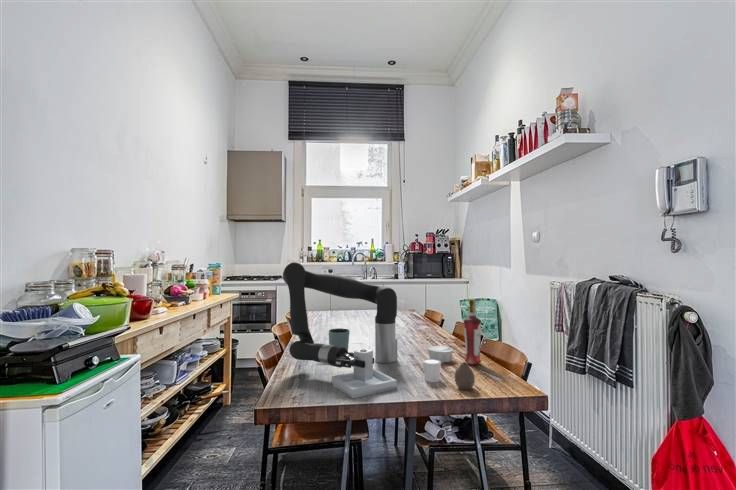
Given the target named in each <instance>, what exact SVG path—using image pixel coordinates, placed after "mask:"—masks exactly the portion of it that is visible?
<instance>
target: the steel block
mask: <svg viewBox="0 0 736 490" xmlns="http://www.w3.org/2000/svg"><path fill="white" fill-rule="evenodd" d="M353 353H354V359H356V360H360V361H365V368H361V367H353V372H354V379H355V380H359V381H363V382H366V381H368V380H370V379H372V378H373V369H374V364H373V358H374V350H373V349H366V348H359V349H356V350H353Z"/></svg>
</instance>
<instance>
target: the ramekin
mask: <svg viewBox="0 0 736 490" xmlns="http://www.w3.org/2000/svg"><path fill="white" fill-rule="evenodd" d="M427 351H428V356H429V359H435V360H439V361H441V364H445V363H444V362H447V363H449V362H451V361H452V356H453V353H454V350H453V348H452V347H450V346H445V345H432V346H428V348H427Z"/></svg>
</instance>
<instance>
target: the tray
mask: <svg viewBox="0 0 736 490" xmlns="http://www.w3.org/2000/svg"><path fill="white" fill-rule="evenodd" d="M331 385H332V386H333V387H335V388H336V389H338V390H339V391H341V392H342V393H343V394H345V395H347V397H350V399H356V398H357V399H358V398H361V397H365V396H369V395H374V394H379V393H383V392H388V391H392V390H397V389H398V379H395V378H393V377H391V376H390V375H387V374H385V373H383V372H381V371H379V370H377V369H375V368H373V378H372V379H370V380H368V381H366V382H363V381H359V380H355V379H354V371H352V372H347V373H342V374H341V373H340V374H337V375H333V376H331Z"/></svg>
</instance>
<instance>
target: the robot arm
mask: <svg viewBox="0 0 736 490" xmlns="http://www.w3.org/2000/svg"><path fill="white" fill-rule="evenodd" d="M282 280H283V281H284V283H285V284H287V288H288V292H289V293H288V294H289V318H290V327H291V328H290V329H291V334H293V335H295V336H297V337H298V339H299V340H295V341H293V342H292V343H291V344H290V346H289V350H288V351H289V355H290V356H291V358H293V359H295V360H299V361H314V362H317V363H321V364H324V365H327V366H332V367H336V368H339V369H340V368H341V369H342V368H348V369H349V368H350V369H351V368H354V367H361V368H365V361H360V360H356V359H354V351H350V352H349V350H348V351H347V349H346V348H344V347H340V346H334V345H329V344H325V343H318V342H317V343H315V342H314V339H313V336H312V333H311V331H310V328H309V320H308V313H307V312H308V311H307V306H306V304H307V303H306V295H305V293H306V291H305V289H310V290H313V291H314V290H315V291H317V292H322V293H323V294H328V295H331V296H336V297H340V298H345V299H352V300H353V299H354V300H355V299H356V300H363V301H367V302H369V303H373V304H375V305H376V314H375V317H374V335H375V337H374V338H375V339H374V340H375V341H374V347H375V349H374V351H375V352H374V355H375V356H374V357H375V358H374V357H373V365H374V364H375V362H376V363H381V364H391V363H395V362H397V361H398V338H396V334H397V333H396V319H397V313H398V297H397V293H396V291H395V290H394V289H393V288H391V287H389V286H382V285H381V286H380V285H374V284H367V283H364V282H362V281H359V280H357V279H354V278H351V277H348V276H343V275H341V274H335V273H317V272H313V271H308V270H306V269H305V267H304V265H303V264H301V263H299V262H296V261H294V262H290V263H289V264H287V265H286V266H285V267H284V269H283V273H282Z"/></svg>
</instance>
